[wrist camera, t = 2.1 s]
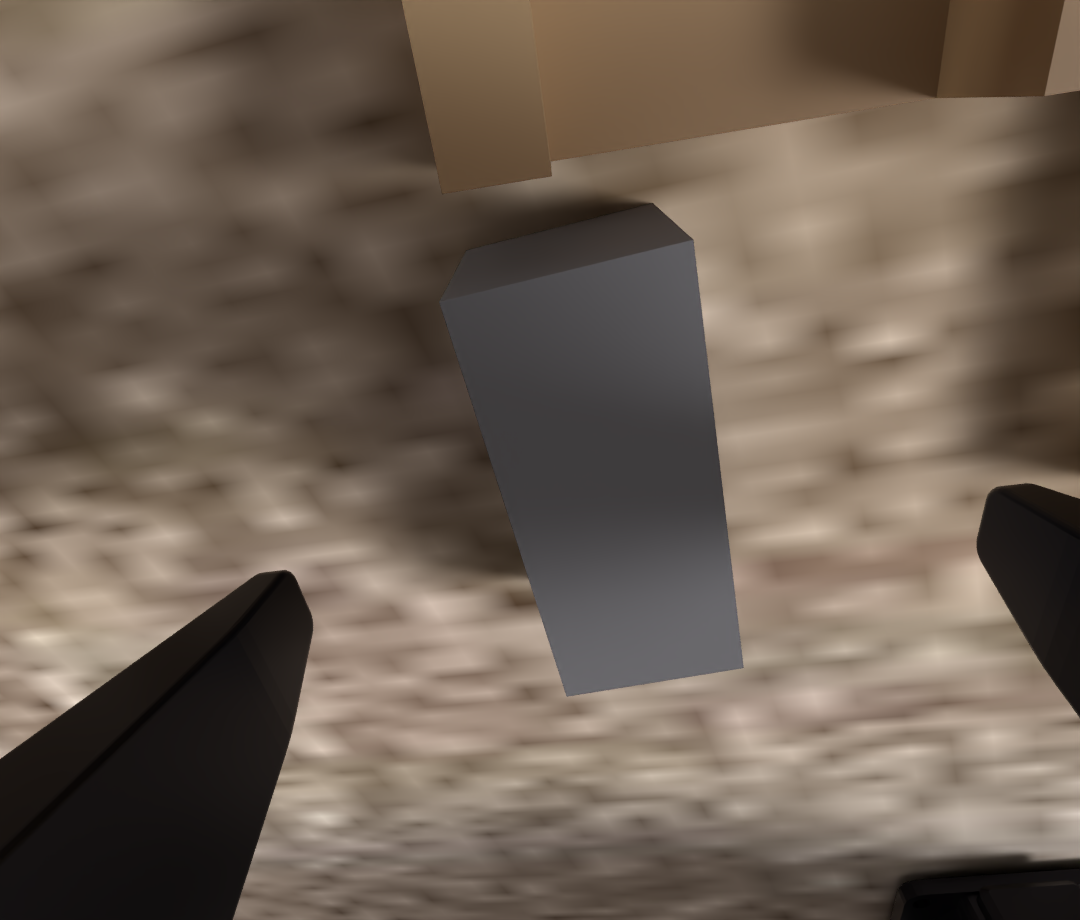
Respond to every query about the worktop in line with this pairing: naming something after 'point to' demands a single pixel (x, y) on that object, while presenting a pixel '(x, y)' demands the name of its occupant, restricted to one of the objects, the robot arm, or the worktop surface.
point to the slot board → (705, 69)
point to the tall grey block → (604, 442)
